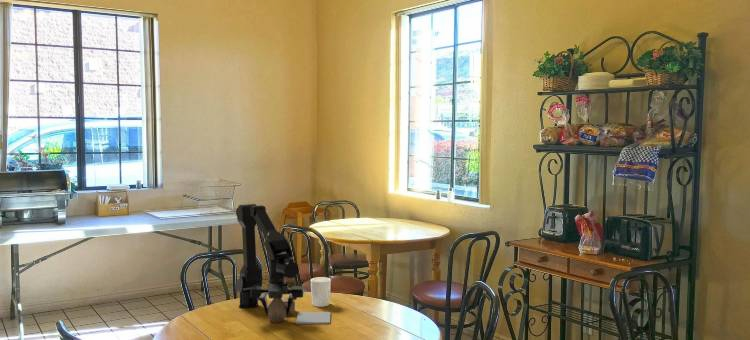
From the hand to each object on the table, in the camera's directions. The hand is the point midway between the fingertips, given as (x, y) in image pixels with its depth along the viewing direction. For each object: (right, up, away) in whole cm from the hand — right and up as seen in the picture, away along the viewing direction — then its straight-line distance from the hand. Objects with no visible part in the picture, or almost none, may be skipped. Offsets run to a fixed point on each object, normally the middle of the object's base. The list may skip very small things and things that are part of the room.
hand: (277, 315), depth 226 cm
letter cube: (+2, -1, +10) cm, 11 cm away
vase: (0, -2, 0) cm, 2 cm away
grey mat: (+13, -2, +3) cm, 13 cm away
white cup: (+14, -1, +21) cm, 25 cm away
